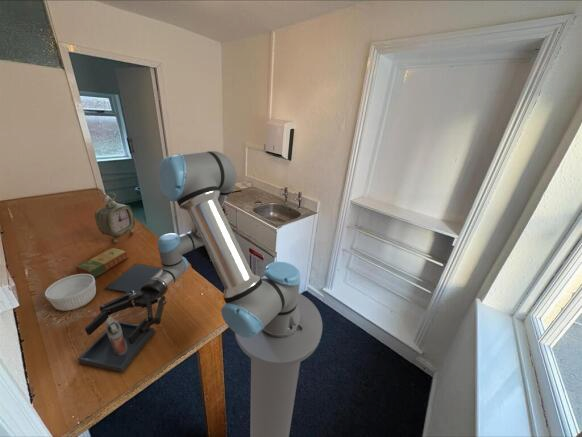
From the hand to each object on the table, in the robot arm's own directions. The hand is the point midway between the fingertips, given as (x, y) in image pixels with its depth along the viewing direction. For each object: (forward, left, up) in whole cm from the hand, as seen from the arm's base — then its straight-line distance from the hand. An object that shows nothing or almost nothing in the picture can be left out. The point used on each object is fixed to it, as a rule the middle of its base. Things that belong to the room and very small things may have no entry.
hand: (108, 336), depth 66 cm
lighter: (0, -2, -7) cm, 7 cm away
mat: (+16, -30, -7) cm, 35 cm away
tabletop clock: (+49, -57, -7) cm, 75 cm away
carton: (+36, -34, -7) cm, 50 cm away
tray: (0, -2, -7) cm, 7 cm away
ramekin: (+29, -15, -7) cm, 33 cm away
